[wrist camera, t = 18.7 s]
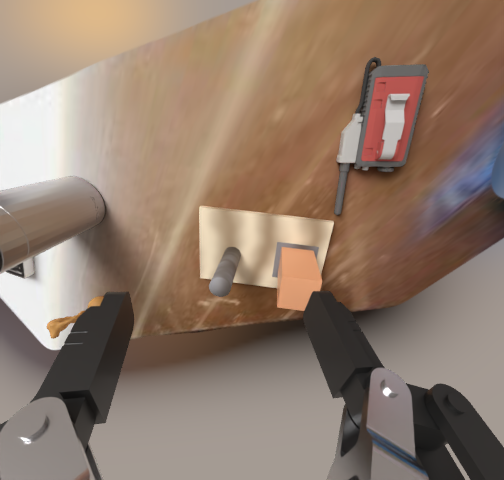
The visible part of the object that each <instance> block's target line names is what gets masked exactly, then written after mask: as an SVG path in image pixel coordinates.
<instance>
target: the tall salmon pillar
mask: <svg viewBox="0 0 504 480" xmlns="http://www.w3.org/2000/svg"><path fill="white" fill-rule="evenodd" d="M321 285H322V278H321V275H320V271H319V268H318V264H317V261H316V257H315V254H314V251H312V250H304V249H296V248H287V247H282V248H281V255H280V261H279V268H278V284H277V307H279V308H286V309H294V310H301V311H305V308H306V306H307V303H308V301H309V299H310V296H311V294H312V292H313V291H320V289H321Z"/></svg>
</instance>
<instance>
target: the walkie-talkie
mask: <svg viewBox="0 0 504 480" xmlns="http://www.w3.org/2000/svg"><path fill="white" fill-rule="evenodd" d="M372 62H375V63H376V69H374V70H373V71H371V72H370V73H369V68H370V65H371V63H372ZM428 73H429V71H428V69H427V66H426V65H391V66H381V61H380V59H379V58H376V57H374V58H372V59H371V60H369V61H368V63H367V65H366V68H365V74H364V80H363V86H362V93H361V99H360V104H359V106H358V108H357V110H356V112H355V114H353V118H352V121H351V122H350V123H349V124H348V125H347V127H346V128H345V129H344V130H343V131H342V133H341V140H340V147H339V154H338V156H337V162H339V163H340V169H339V171H340V176H339V183H338V190H337V197H336V204H335V210H334V213H335V214H336V215H340V214H341V210H342V204H343V197H344V191H345V185H346V179H347V173H348V171H349V167H350V163H353V164H354V168H355V169H360V167H361V166H362V170H368V168H369V167H370V166H379V167H378V168H377V170H378V171H382V172H392V171H394V167H400V166H403V165H404V164H405V163H406V159H407V155H408V152H409V148H410V144H411V140H412V136H413V132H414V126H415V124H416V123H415V122H416V120H417V115H418V110H419V109H420V108H419V106H420V105H421V103H420V102H421V100H422V95H423V91H424V89H425V84H426V79H427V78H428V76H427V75H428ZM359 112H360V114H359Z"/></svg>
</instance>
